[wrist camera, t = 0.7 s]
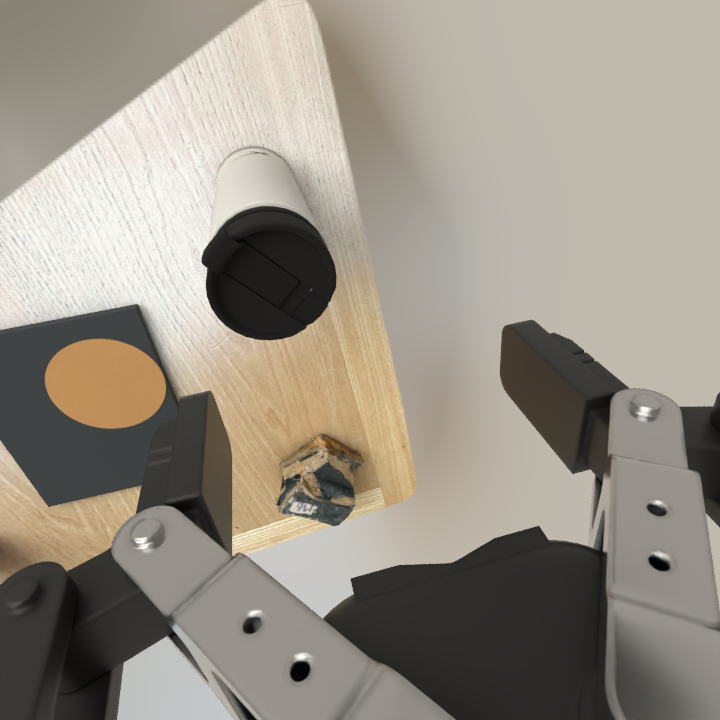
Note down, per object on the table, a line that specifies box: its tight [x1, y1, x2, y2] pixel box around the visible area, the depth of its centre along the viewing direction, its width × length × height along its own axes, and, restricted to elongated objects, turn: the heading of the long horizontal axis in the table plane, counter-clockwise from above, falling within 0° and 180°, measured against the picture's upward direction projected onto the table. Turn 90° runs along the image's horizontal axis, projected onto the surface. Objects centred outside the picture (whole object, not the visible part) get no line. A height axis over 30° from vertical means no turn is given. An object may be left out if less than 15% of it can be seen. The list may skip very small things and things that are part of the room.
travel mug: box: [202, 146, 336, 340], centre depth 31 cm, size 6×7×20 cm
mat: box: [0, 304, 179, 507], centre depth 46 cm, size 20×16×1 cm
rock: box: [276, 435, 363, 526], centre depth 54 cm, size 9×9×6 cm
